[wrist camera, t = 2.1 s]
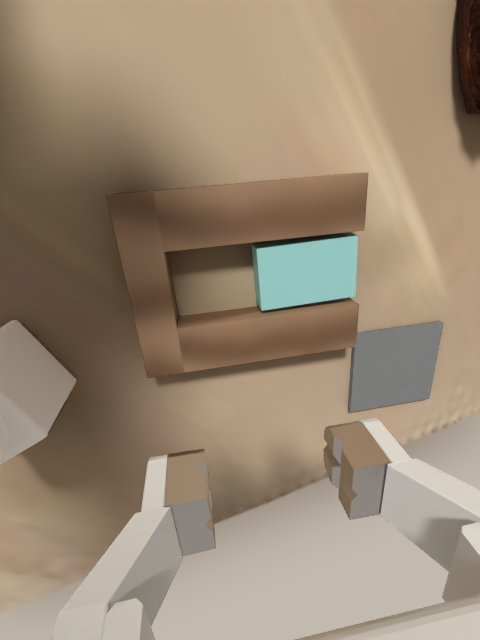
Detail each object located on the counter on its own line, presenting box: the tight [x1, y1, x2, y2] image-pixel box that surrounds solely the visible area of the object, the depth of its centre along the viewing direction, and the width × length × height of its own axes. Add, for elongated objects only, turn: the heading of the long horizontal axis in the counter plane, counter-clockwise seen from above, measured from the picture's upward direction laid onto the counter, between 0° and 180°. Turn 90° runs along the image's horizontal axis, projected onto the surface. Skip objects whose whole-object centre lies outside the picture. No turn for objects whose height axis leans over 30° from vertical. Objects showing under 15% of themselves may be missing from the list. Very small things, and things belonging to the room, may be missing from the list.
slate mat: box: [348, 321, 443, 412], centre depth 33 cm, size 9×9×1 cm
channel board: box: [106, 173, 368, 378], centre depth 26 cm, size 14×18×2 cm
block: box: [251, 232, 358, 311], centre depth 27 cm, size 5×8×2 cm, turn 96°
